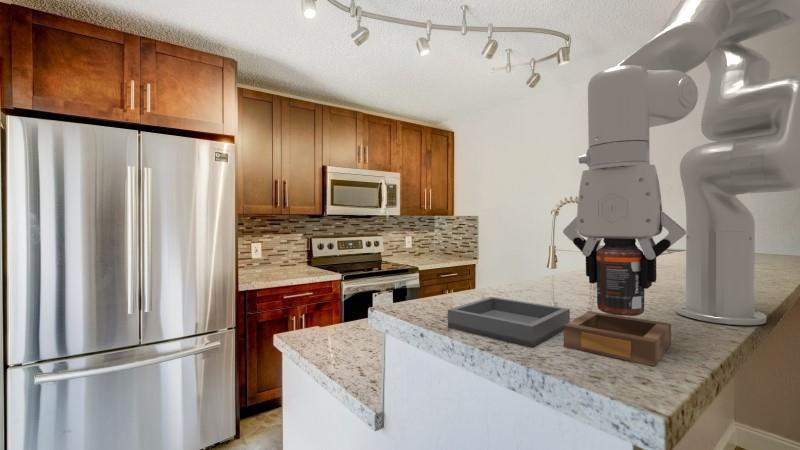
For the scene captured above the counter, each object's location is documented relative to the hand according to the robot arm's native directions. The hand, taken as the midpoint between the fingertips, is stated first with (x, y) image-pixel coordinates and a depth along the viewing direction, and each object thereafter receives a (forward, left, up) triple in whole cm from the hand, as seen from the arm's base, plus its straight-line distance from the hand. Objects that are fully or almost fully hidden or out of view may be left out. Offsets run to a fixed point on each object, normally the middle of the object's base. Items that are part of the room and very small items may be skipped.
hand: (619, 283), depth 55 cm
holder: (+1, 0, -9) cm, 9 cm away
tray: (+3, -16, -9) cm, 19 cm away
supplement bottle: (0, 0, -4) cm, 4 cm away
